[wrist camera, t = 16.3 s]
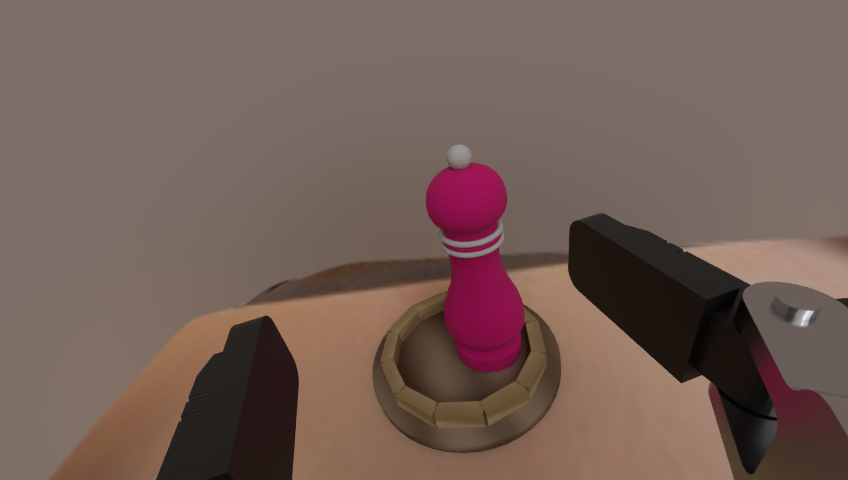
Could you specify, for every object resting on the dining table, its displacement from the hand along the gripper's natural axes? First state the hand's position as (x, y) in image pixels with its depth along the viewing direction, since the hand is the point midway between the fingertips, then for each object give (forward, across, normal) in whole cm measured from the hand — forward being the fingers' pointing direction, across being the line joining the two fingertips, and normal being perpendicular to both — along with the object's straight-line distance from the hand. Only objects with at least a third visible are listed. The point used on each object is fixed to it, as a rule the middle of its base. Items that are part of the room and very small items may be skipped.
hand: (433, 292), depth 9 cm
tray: (+16, -4, +22) cm, 28 cm away
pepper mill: (+15, -6, +21) cm, 27 cm away
